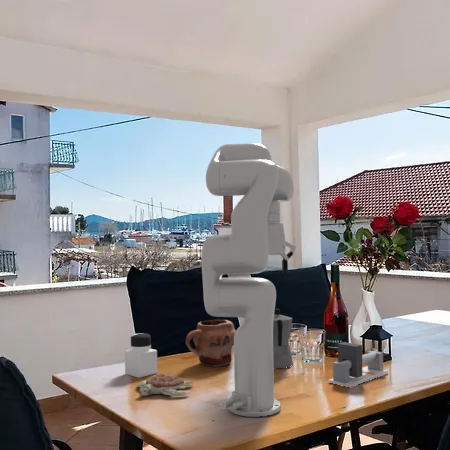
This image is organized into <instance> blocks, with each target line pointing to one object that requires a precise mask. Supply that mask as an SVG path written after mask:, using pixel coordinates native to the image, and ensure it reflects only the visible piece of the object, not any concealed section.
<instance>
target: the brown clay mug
mask: <svg viewBox="0 0 450 450" xmlns="http://www.w3.org/2000/svg"><path fill="white" fill-rule="evenodd" d="M235 332H236V329H235V325H234V322H232V321H230V320H228V319H211V320H203V321H200V322H198V323H197V325H196V329H195V330H191V331H190V332H189V333H187V335H186V338H185V345H186V346H187V348H188V349H189V351H190V352H191V353H192V354H195V355H196V356H197V357H198V359H199V362H200V364H201V365H202V366H206V367H220V366H225V365H229V364H231V362H232V349H233V347H234V335H235ZM192 339H193V342H194V345H195V348H193V347H192V346H191V340H192Z"/></svg>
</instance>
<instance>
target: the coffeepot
mask: <svg viewBox="0 0 450 450" xmlns="http://www.w3.org/2000/svg"><path fill="white" fill-rule="evenodd" d="M280 311H281V309H279V308H275V310H274V319H273V365H274V368H275V370H277V368H285V369H287V368H286V367H289V368H291V367H292V366H293V365H294V362H293V357H292V351H291V346H290V344H289V343H290V342H289V340H290V339H291V332H292V327H293V326H292V325H293V324H292V323H293V317H290V316H286V315H282V314H280V313H281V312H280ZM291 365H292V366H291ZM290 366H291V367H290Z"/></svg>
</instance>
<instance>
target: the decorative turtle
mask: <svg viewBox="0 0 450 450" xmlns="http://www.w3.org/2000/svg"><path fill="white" fill-rule="evenodd" d="M194 384H195V383H194V381H193V380H192V381H191V380H187V381H186V380H184V379H183V378H181V377H179V376H177V375H173V374H169V373H159V374H156V375H155V374H154V375H153V376H151V377H150V378H148V379H145V380H142V381H140V382H138V383H137V384H136V386H137V387H138V388H139V395H140V396H143V397H147V396H151V395H162V394H163V395H167V396H171V397H184V396H186V395H188V394H190V393H191V391H190V390H179V389H180V388H181V387H189V386H190V387H191V386H193V385H194Z"/></svg>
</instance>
